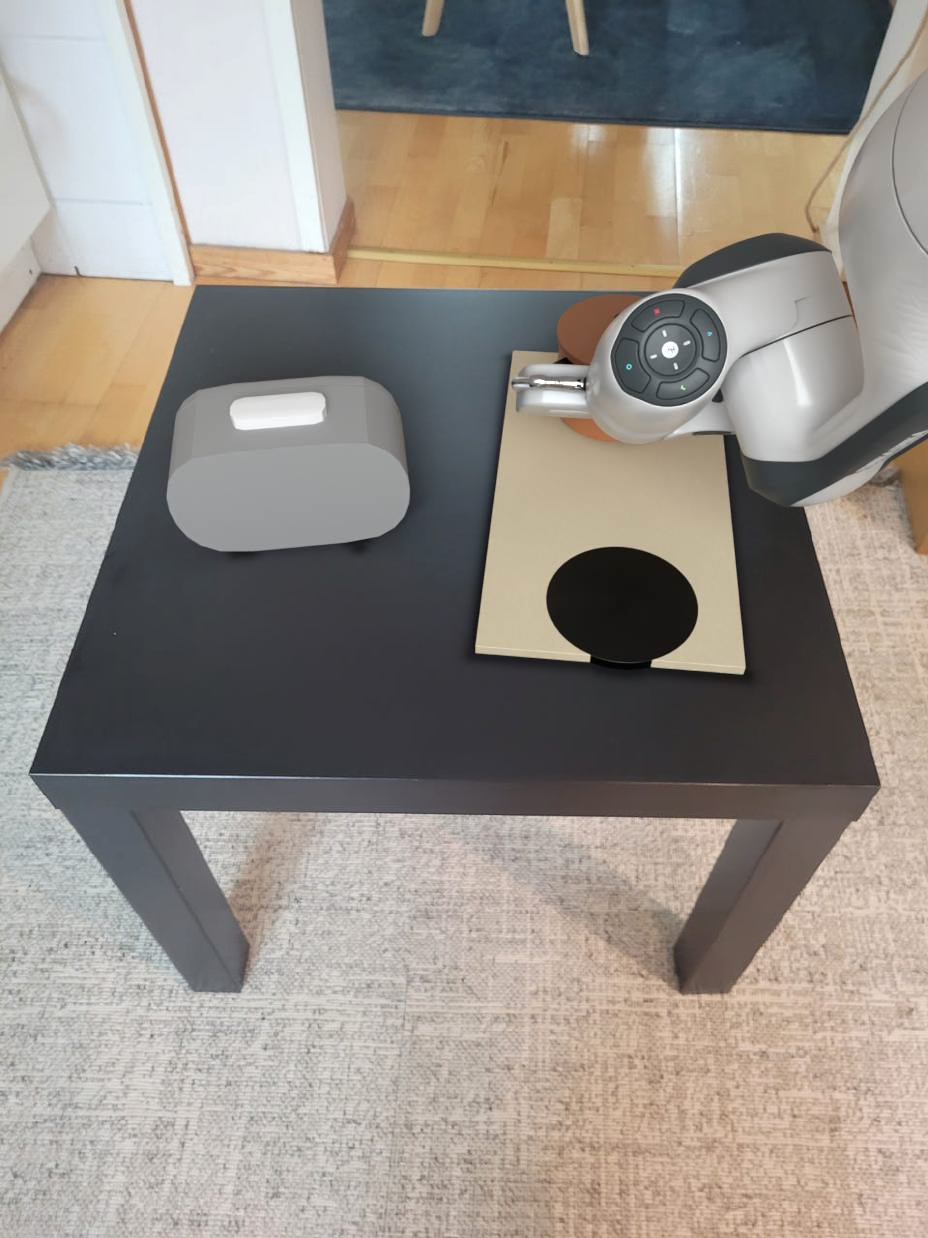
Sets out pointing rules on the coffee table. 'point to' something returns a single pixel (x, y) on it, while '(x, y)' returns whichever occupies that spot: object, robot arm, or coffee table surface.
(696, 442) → the hob
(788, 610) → the coffee table surface
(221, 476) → the alarm clock
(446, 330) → the coffee table surface
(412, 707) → the coffee table surface
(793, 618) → the coffee table surface
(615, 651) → the black round disc
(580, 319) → the pot
